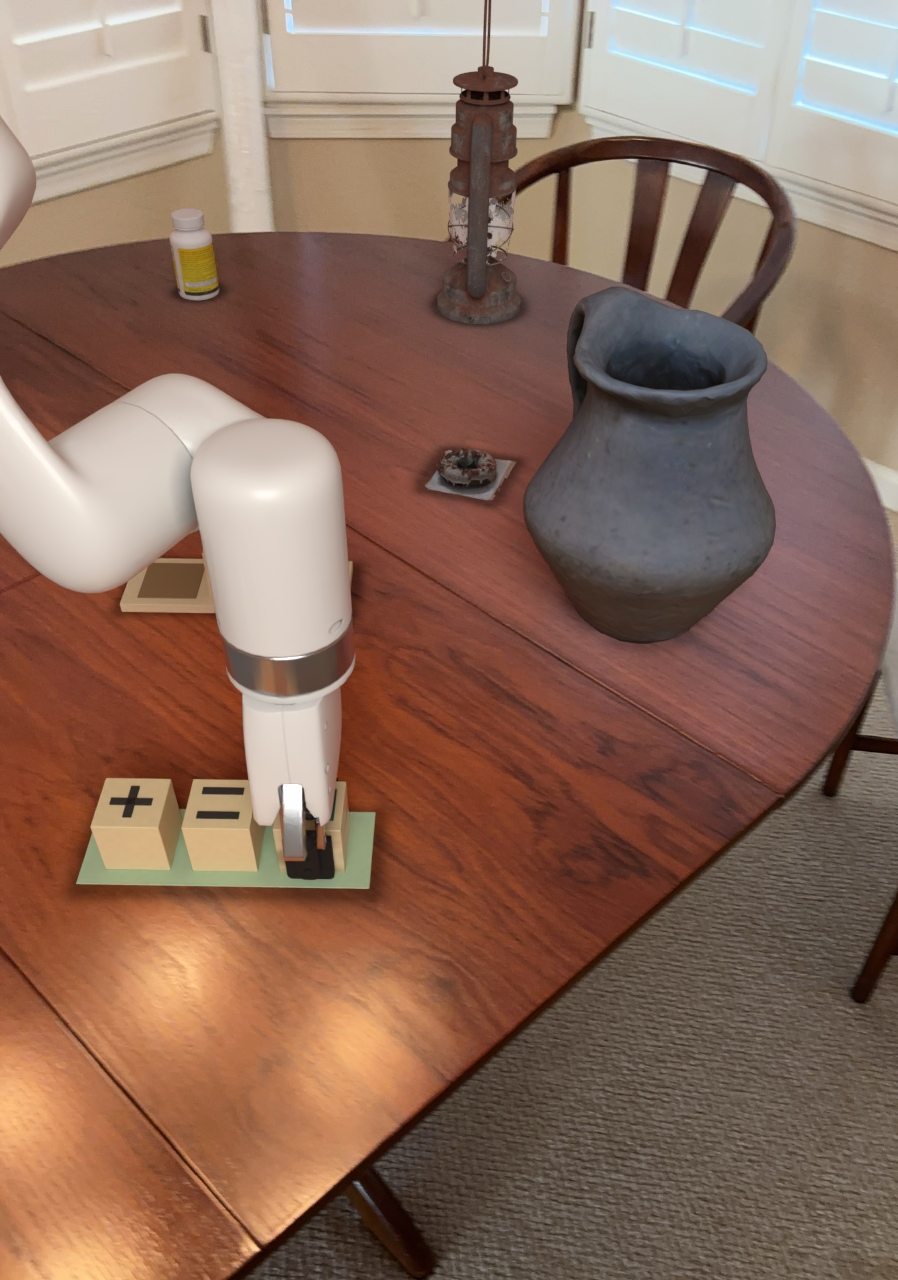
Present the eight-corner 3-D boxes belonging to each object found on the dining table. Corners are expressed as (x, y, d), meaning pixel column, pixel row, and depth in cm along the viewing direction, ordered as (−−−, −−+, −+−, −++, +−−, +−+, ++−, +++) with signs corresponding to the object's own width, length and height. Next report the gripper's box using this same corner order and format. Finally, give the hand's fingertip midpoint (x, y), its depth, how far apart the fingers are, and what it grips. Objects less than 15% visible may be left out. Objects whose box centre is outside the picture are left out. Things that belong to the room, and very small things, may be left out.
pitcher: (610, 714, 85) (658, 424, 67) (465, 578, 97) (472, 301, 79) (796, 630, 92) (885, 349, 74) (639, 513, 105) (682, 248, 86)
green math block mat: (79, 892, 72) (57, 839, 68) (103, 816, 77) (84, 762, 73) (370, 897, 72) (366, 844, 68) (376, 820, 77) (372, 767, 73)
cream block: (279, 872, 72) (272, 828, 69) (287, 823, 75) (280, 779, 72) (345, 873, 72) (340, 829, 69) (350, 824, 75) (346, 780, 72)
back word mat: (121, 613, 93) (107, 559, 89) (138, 566, 98) (125, 514, 94) (347, 616, 93) (343, 563, 89) (353, 570, 98) (349, 517, 94)
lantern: (430, 332, 132) (429, -15, 106) (442, 280, 143) (444, -46, 117) (517, 336, 132) (538, -11, 106) (523, 284, 143) (542, -43, 117)
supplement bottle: (228, 293, 140) (217, 213, 132) (195, 305, 137) (182, 224, 130) (203, 282, 142) (191, 202, 135) (170, 293, 140) (156, 213, 132)
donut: (446, 450, 113) (446, 433, 111) (516, 463, 111) (517, 445, 109) (419, 490, 107) (419, 472, 106) (492, 504, 106) (493, 486, 104)
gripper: (244, 555, 66) (276, 759, 80) (197, 744, 55) (244, 945, 68) (364, 557, 66) (376, 761, 80) (341, 746, 55) (360, 947, 68)
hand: (315, 844), depth 74 cm, fingers closed on cream block, 4 cm apart
